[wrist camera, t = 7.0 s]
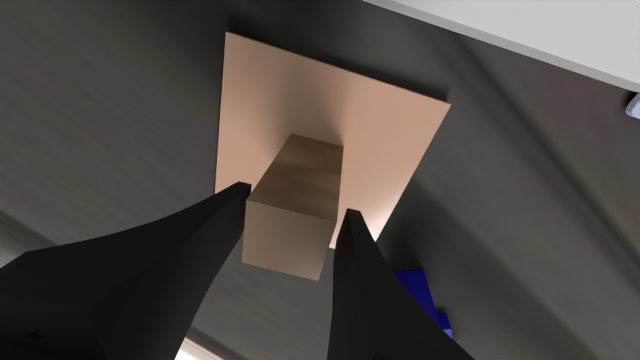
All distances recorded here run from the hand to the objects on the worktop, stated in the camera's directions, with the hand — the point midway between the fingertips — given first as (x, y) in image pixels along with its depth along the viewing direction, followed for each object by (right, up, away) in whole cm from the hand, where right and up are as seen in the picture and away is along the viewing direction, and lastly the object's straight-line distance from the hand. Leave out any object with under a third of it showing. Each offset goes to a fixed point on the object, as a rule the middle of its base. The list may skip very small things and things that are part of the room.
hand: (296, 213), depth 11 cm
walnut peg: (+1, +3, +4) cm, 5 cm away
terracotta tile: (+1, +3, +5) cm, 5 cm away
